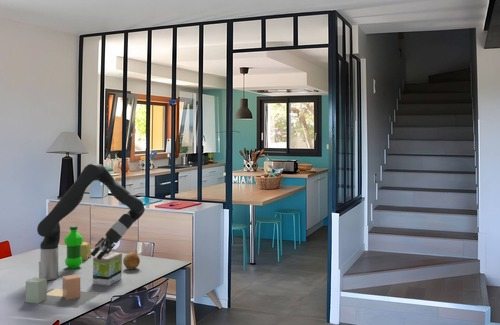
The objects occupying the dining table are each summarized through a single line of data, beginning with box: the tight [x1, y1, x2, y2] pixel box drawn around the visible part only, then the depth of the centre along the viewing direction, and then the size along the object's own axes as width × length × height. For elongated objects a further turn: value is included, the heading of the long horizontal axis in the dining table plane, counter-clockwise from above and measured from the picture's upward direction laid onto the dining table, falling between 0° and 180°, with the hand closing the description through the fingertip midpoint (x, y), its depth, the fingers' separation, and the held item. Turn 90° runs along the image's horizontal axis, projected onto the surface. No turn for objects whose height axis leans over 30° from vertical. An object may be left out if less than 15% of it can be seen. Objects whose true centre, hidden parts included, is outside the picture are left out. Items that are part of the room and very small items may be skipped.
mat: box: [24, 288, 102, 309], centre depth 241 cm, size 28×22×1 cm
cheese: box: [81, 241, 92, 261], centre depth 321 cm, size 10×11×10 cm
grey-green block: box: [25, 277, 48, 304], centre depth 237 cm, size 7×7×10 cm
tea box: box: [92, 251, 123, 286], centre depth 271 cm, size 15×10×15 cm
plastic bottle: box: [64, 225, 84, 270], centre depth 299 cm, size 10×10×25 cm
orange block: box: [62, 274, 81, 300], centre depth 242 cm, size 7×7×10 cm
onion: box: [122, 252, 141, 270], centre depth 297 cm, size 10×10×10 cm
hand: (95, 257), depth 249 cm, fingers open, 8 cm apart
